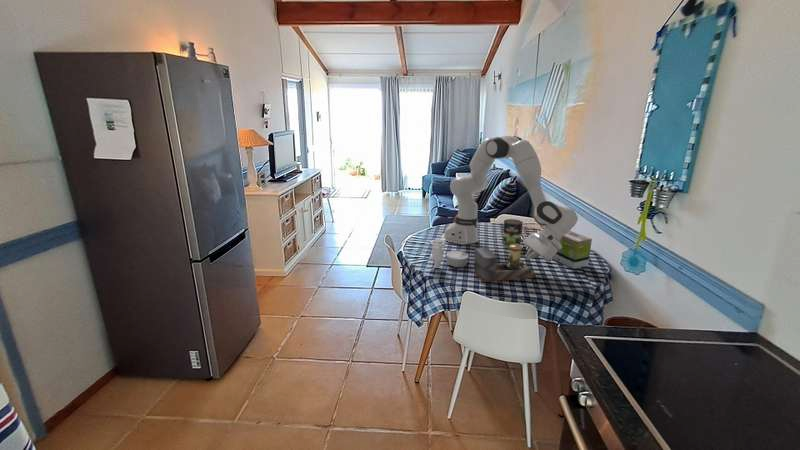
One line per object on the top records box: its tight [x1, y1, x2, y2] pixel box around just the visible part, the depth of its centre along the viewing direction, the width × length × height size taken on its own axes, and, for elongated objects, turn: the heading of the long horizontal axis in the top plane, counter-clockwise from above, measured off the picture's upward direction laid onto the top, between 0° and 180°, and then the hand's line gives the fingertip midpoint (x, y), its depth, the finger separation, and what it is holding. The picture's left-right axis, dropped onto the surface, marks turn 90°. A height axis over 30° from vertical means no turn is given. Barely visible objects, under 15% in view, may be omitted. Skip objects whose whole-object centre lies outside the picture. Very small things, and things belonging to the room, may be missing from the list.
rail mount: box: [473, 247, 537, 283], centre depth 174 cm, size 26×12×12 cm, turn 99°
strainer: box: [430, 238, 446, 268], centre depth 182 cm, size 7×7×15 cm
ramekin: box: [445, 250, 470, 268], centre depth 188 cm, size 11×11×5 cm
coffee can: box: [501, 218, 524, 249], centre depth 213 cm, size 10×10×14 cm
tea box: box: [551, 230, 593, 270], centre depth 188 cm, size 15×10×15 cm, turn 23°
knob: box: [505, 243, 523, 270], centre depth 174 cm, size 6×6×12 cm
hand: (526, 258), depth 175 cm, fingers closed
